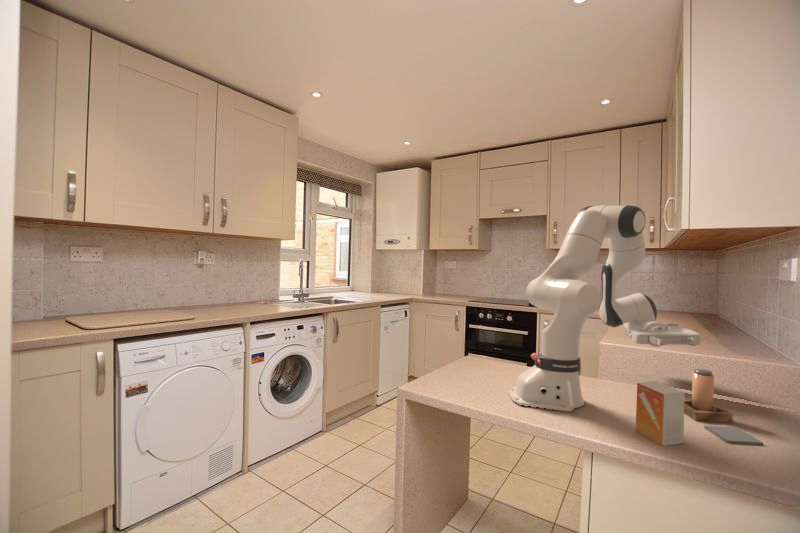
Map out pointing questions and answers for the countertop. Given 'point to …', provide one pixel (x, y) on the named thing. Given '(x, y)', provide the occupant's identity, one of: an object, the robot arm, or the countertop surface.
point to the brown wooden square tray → (707, 413)
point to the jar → (702, 390)
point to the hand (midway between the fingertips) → (678, 342)
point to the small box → (660, 412)
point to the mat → (733, 435)
